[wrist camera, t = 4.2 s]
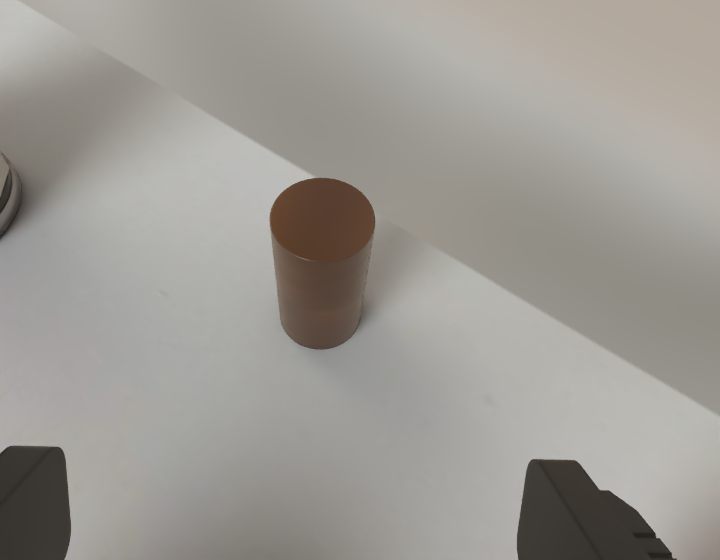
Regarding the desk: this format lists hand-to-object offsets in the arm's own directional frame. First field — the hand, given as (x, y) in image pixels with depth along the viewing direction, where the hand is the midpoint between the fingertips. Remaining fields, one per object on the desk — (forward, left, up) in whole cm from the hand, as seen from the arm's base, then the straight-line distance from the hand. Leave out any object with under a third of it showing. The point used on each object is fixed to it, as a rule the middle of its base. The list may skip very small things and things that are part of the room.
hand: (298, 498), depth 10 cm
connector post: (-2, +13, -18) cm, 23 cm away
